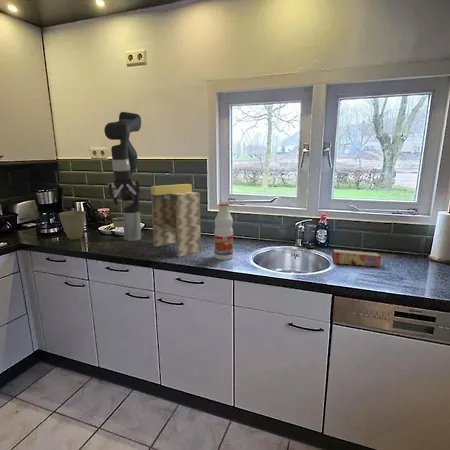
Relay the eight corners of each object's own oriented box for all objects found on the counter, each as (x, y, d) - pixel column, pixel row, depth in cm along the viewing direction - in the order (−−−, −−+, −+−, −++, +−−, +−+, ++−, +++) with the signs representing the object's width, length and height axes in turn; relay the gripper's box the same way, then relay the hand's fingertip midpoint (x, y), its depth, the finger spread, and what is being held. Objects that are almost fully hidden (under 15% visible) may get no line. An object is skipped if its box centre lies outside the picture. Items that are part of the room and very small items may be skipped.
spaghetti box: (187, 191, 171) (187, 183, 170) (191, 191, 168) (191, 184, 168) (151, 194, 157) (150, 186, 156) (155, 195, 154) (154, 186, 153)
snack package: (377, 264, 155) (378, 251, 153) (380, 269, 148) (381, 255, 147) (331, 260, 159) (332, 247, 158) (332, 265, 153) (333, 251, 152)
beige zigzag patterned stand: (174, 241, 191) (172, 188, 184) (200, 251, 172) (200, 192, 165) (151, 246, 181) (149, 190, 174) (177, 257, 162) (175, 195, 155)
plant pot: (82, 233, 208) (80, 209, 204) (91, 238, 197) (89, 213, 194) (58, 237, 198) (55, 212, 195) (65, 242, 187) (63, 216, 184)
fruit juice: (232, 254, 167) (232, 202, 161) (233, 260, 158) (234, 204, 152) (214, 254, 167) (214, 201, 161) (214, 260, 158) (214, 204, 152)
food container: (134, 231, 214) (133, 217, 212) (130, 234, 208) (129, 219, 206) (116, 231, 215) (115, 216, 213) (112, 233, 209) (111, 218, 207)
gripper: (133, 166, 151) (136, 199, 156) (103, 169, 143) (107, 204, 148) (139, 168, 145) (142, 202, 150) (108, 171, 137) (112, 207, 143)
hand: (125, 203), depth 149 cm, fingers open, 8 cm apart
